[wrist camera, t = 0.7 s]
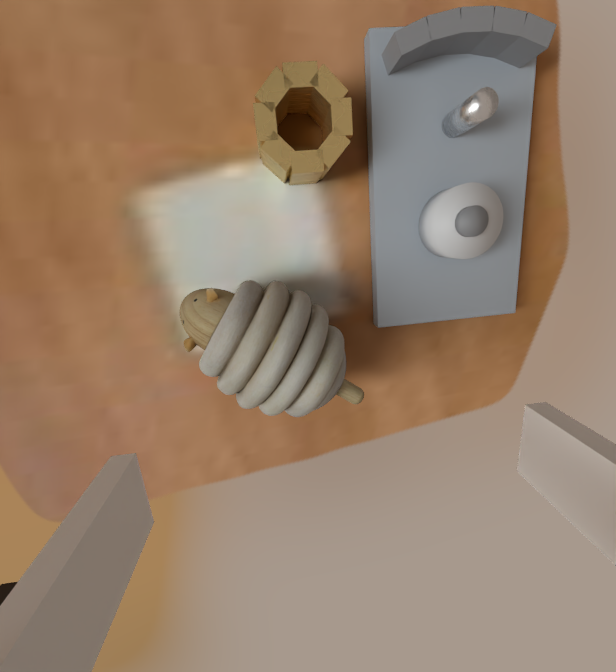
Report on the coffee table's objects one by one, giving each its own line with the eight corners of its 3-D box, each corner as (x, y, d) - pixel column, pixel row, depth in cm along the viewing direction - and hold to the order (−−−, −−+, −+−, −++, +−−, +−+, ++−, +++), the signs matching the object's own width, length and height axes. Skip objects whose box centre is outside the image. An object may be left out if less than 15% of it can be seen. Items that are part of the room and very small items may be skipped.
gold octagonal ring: (253, 95, 28) (248, 64, 23) (336, 90, 28) (349, 59, 23) (263, 187, 30) (261, 176, 25) (341, 181, 30) (354, 169, 25)
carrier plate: (364, 39, 27) (384, -8, 22) (526, 32, 28) (581, -15, 23) (373, 324, 34) (391, 338, 29) (505, 309, 35) (544, 321, 30)
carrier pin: (442, 111, 28) (472, 87, 24) (465, 110, 28) (499, 86, 24) (441, 138, 29) (471, 119, 24) (464, 137, 29) (497, 118, 24)
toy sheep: (217, 243, 31) (187, 243, 20) (375, 321, 34) (422, 356, 23) (175, 344, 33) (127, 393, 22) (328, 408, 36) (350, 477, 25)
